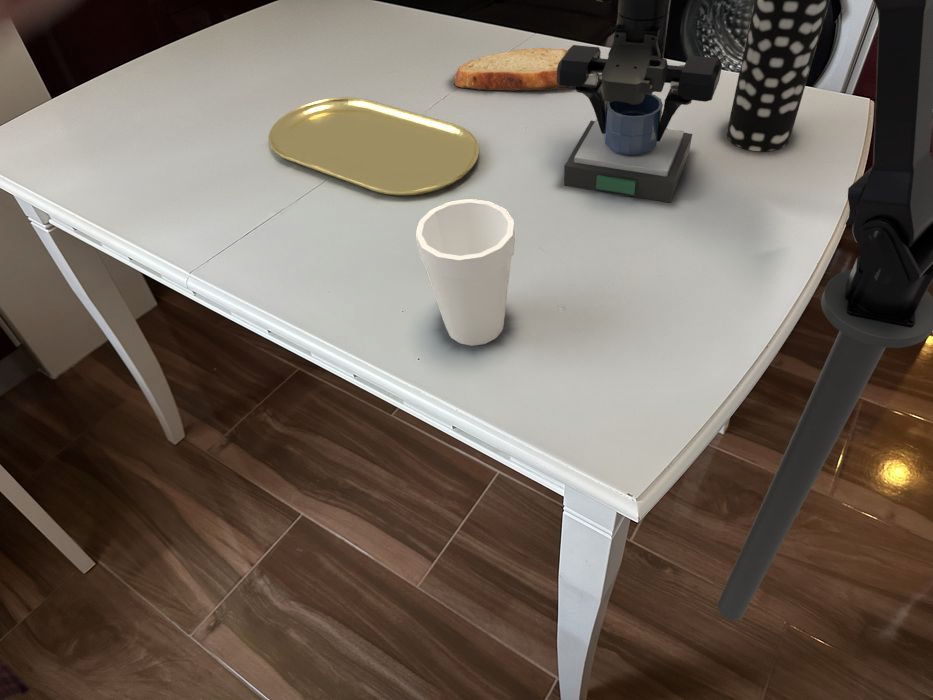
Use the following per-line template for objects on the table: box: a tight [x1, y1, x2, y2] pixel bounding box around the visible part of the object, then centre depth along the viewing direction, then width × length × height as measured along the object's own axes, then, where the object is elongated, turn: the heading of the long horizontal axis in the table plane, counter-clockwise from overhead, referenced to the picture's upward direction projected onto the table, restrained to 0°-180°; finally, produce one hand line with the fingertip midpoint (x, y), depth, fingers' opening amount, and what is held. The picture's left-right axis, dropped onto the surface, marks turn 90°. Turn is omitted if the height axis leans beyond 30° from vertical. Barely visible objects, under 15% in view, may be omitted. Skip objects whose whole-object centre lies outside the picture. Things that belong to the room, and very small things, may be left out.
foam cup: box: [415, 198, 516, 347], centre depth 70 cm, size 10×9×13 cm
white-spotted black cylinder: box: [726, 0, 831, 152], centre depth 88 cm, size 8×8×20 cm
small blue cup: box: [604, 93, 664, 155], centre depth 87 cm, size 7×7×6 cm
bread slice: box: [453, 47, 572, 92], centre depth 111 cm, size 18×18×4 cm
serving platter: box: [268, 96, 480, 196], centre depth 101 cm, size 19×35×2 cm, turn 55°
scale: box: [563, 119, 693, 204], centre depth 91 cm, size 14×12×4 cm
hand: (631, 136), depth 89 cm, fingers closed on small blue cup, 7 cm apart
